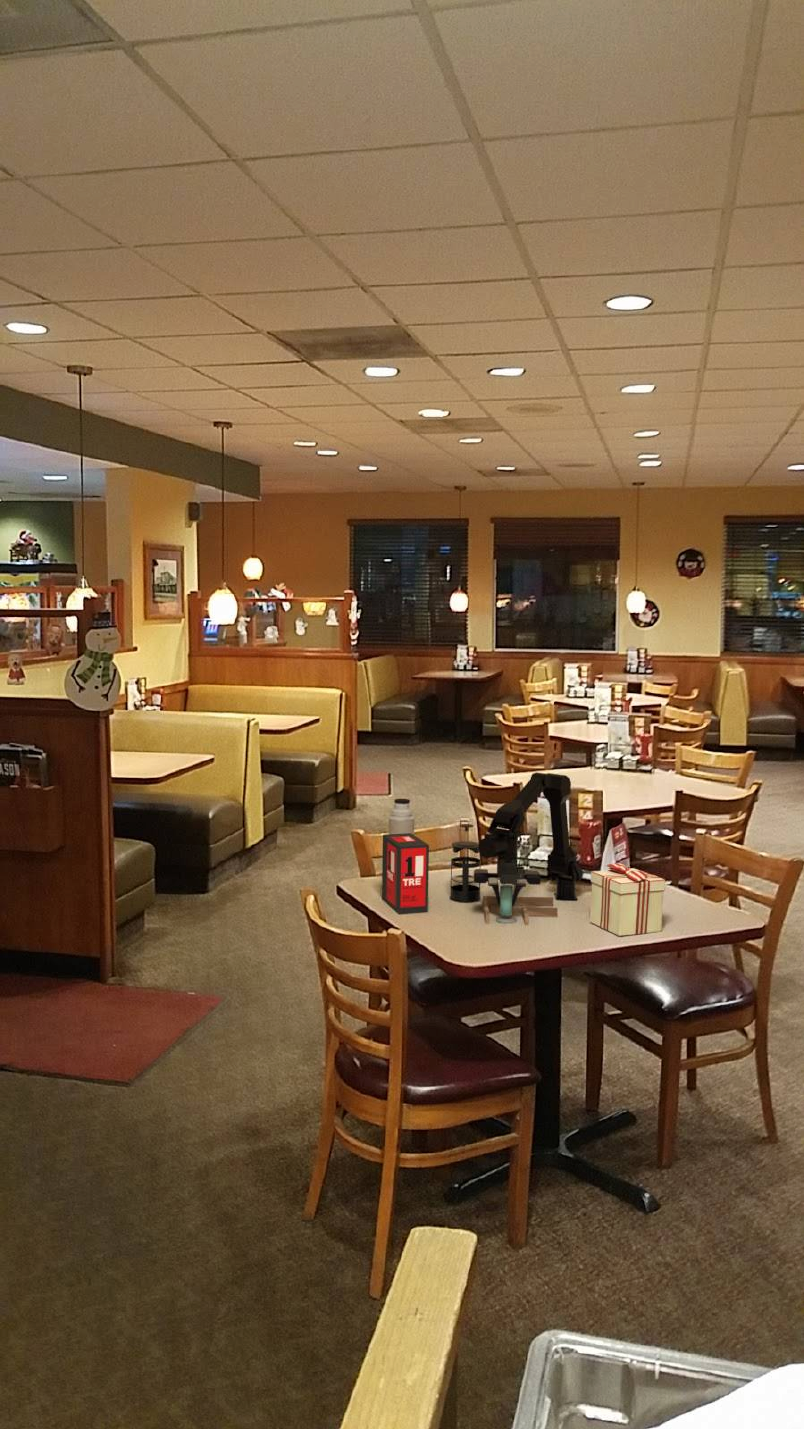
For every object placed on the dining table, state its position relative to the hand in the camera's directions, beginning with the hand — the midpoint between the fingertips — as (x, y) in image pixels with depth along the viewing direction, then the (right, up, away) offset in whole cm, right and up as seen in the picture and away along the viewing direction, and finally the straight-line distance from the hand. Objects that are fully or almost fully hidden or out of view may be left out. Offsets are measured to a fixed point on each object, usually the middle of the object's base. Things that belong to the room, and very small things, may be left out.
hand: (506, 906), depth 314 cm
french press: (-10, -2, +22) cm, 24 cm away
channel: (+5, -3, +6) cm, 8 cm away
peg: (0, -2, 0) cm, 2 cm away
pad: (0, -4, 0) cm, 4 cm away
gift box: (+34, -5, -4) cm, 35 cm away
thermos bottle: (-30, 0, +34) cm, 46 cm away
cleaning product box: (-29, -2, +13) cm, 32 cm away
